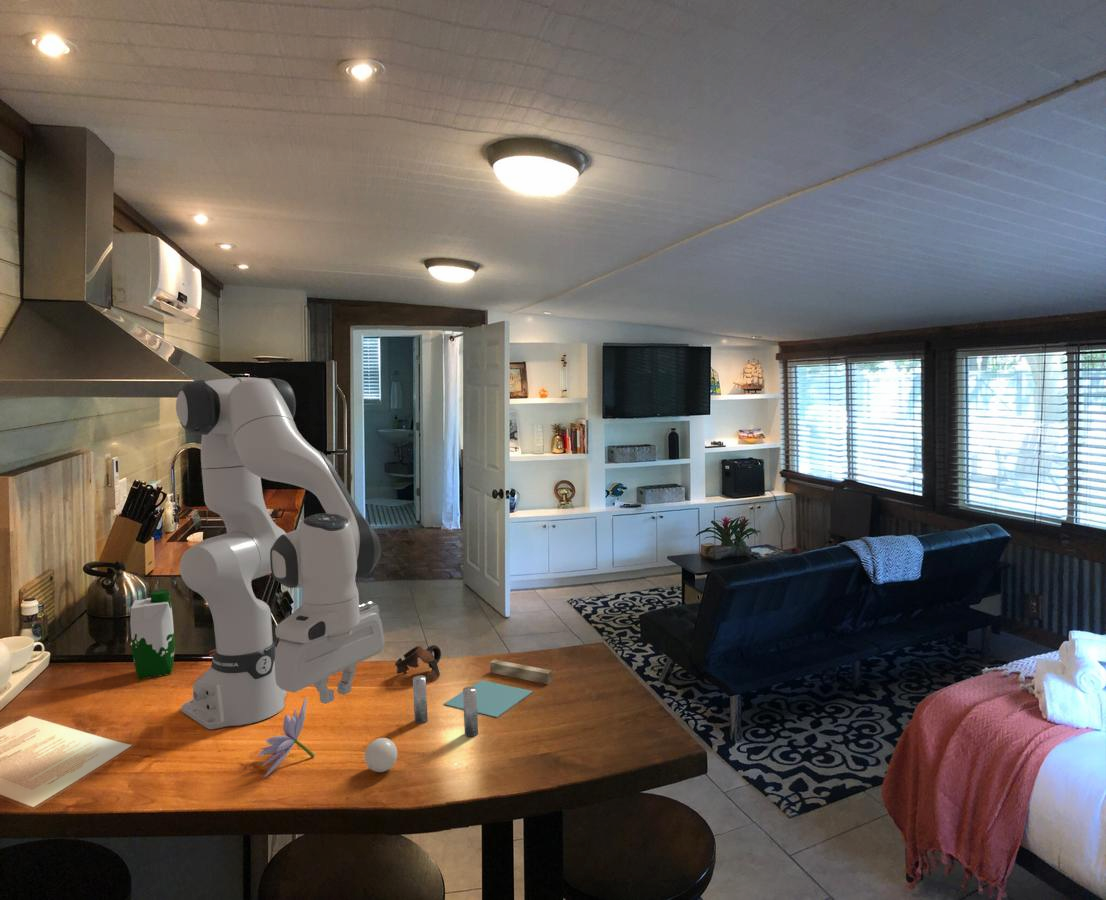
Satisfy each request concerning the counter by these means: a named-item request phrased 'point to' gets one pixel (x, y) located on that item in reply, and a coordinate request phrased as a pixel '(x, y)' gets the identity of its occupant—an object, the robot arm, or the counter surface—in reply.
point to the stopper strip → (521, 671)
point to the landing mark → (492, 698)
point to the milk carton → (152, 635)
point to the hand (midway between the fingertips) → (336, 697)
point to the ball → (381, 755)
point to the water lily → (286, 739)
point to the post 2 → (470, 711)
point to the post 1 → (420, 699)
